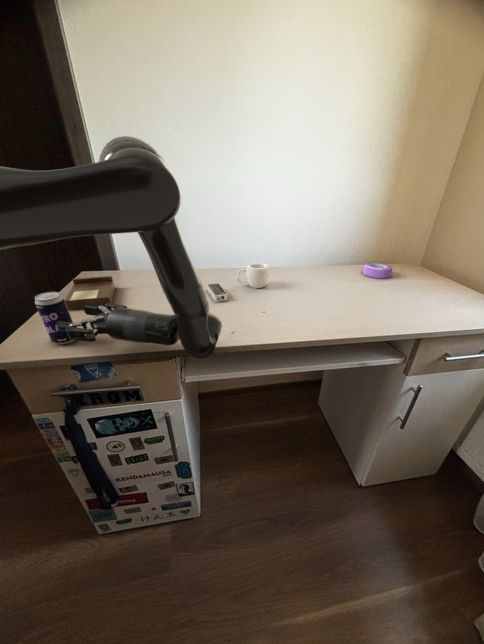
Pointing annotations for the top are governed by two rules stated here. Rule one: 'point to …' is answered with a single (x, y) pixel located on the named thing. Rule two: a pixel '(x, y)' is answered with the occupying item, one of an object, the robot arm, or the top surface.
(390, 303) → the top surface
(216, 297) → the multiport hub
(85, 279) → the wooden serving tray
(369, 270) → the tape roll
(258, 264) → the mug
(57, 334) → the beverage can
